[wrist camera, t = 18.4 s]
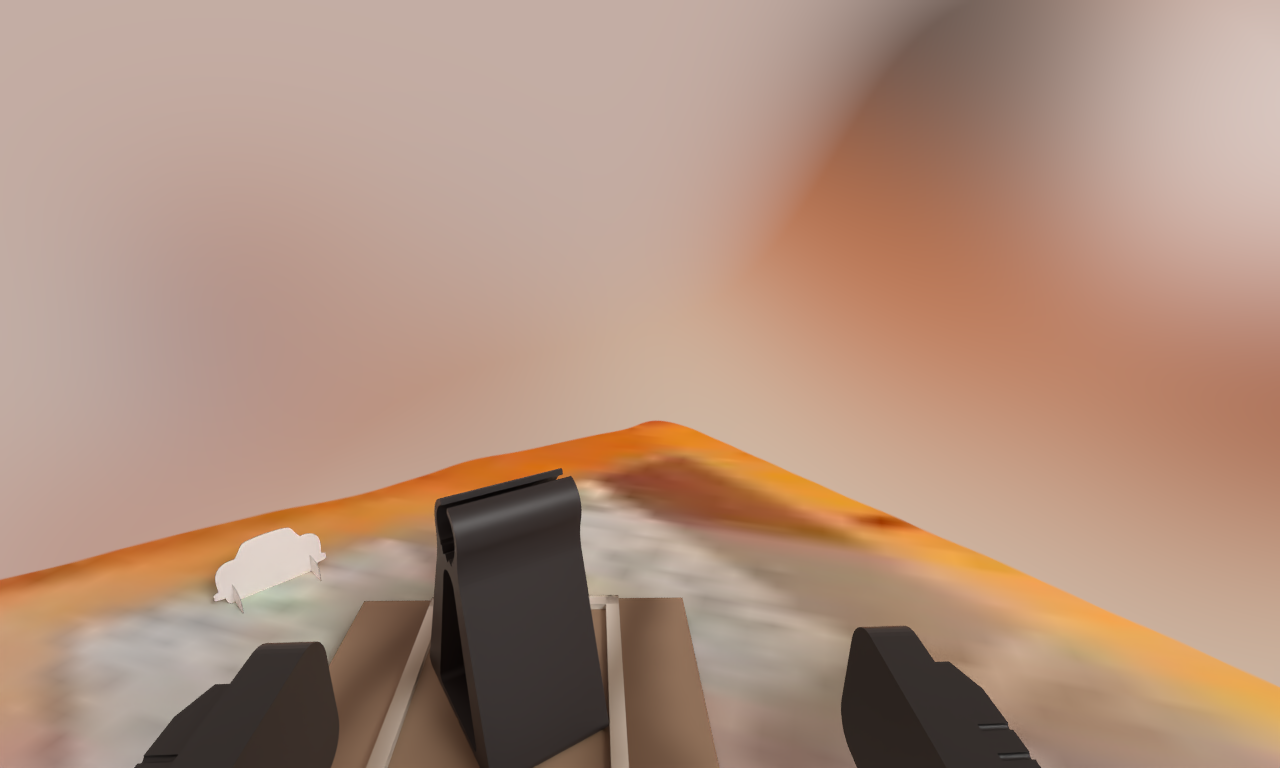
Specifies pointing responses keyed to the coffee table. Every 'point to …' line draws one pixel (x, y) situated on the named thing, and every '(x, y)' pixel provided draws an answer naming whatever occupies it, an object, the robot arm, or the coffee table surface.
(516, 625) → the phone stand
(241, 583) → the car cutout
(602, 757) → the marked board
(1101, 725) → the coffee table surface
